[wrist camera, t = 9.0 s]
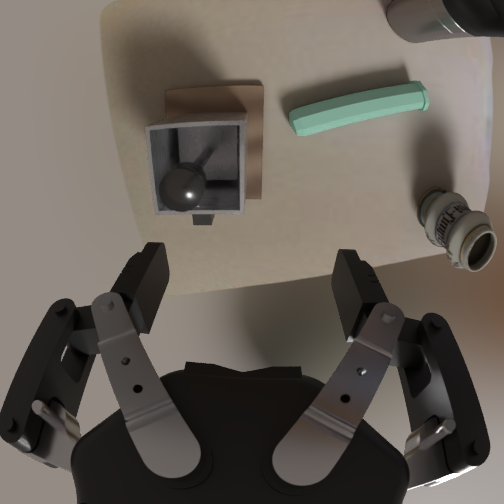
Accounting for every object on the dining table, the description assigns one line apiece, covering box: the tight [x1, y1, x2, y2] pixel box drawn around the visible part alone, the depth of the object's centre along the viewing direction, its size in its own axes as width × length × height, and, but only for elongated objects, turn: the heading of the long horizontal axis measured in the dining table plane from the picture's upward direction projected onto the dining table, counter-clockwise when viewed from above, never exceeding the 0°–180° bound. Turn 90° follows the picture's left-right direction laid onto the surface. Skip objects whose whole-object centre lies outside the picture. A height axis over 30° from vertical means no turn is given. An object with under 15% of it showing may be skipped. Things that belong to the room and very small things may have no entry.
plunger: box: [159, 125, 238, 212], centre depth 30 cm, size 8×8×17 cm
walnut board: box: [165, 85, 264, 199], centre depth 43 cm, size 20×16×1 cm
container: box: [289, 81, 429, 136], centre depth 37 cm, size 6×6×25 cm
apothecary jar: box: [417, 188, 497, 272], centre depth 42 cm, size 12×12×18 cm
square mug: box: [145, 112, 248, 225], centre depth 37 cm, size 14×11×16 cm
